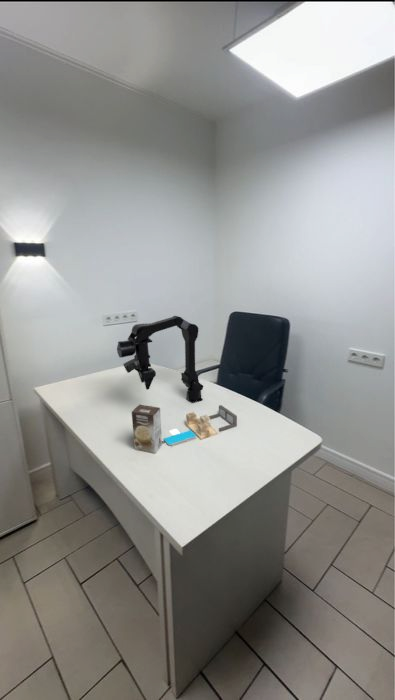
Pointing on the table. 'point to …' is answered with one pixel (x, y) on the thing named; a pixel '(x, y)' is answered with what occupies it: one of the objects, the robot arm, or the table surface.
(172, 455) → the table surface
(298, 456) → the table surface
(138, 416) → the coffee box
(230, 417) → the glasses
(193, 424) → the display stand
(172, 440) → the blue flat piece
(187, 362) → the robot arm
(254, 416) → the table surface
